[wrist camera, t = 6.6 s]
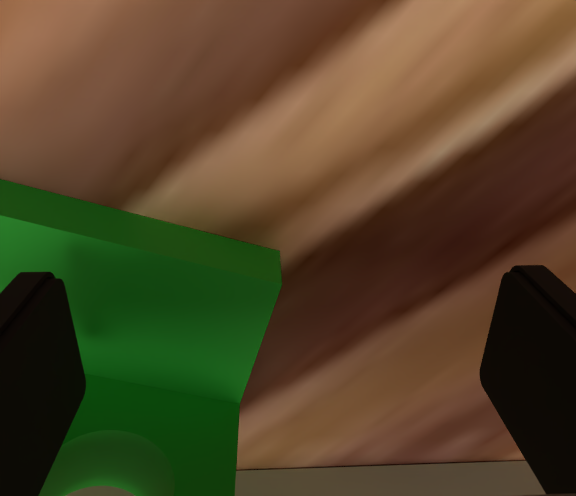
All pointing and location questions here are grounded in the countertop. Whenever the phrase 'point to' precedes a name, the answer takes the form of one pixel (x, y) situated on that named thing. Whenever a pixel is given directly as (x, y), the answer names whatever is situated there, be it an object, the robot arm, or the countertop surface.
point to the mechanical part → (146, 339)
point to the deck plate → (379, 481)
